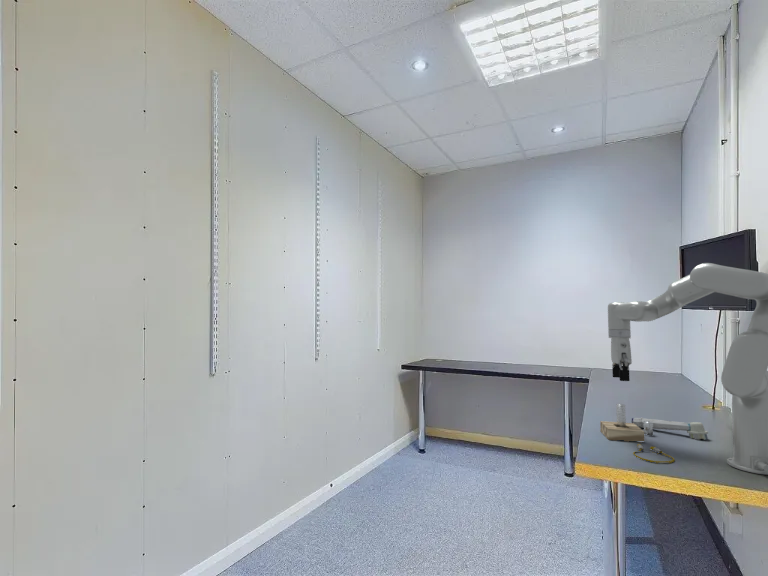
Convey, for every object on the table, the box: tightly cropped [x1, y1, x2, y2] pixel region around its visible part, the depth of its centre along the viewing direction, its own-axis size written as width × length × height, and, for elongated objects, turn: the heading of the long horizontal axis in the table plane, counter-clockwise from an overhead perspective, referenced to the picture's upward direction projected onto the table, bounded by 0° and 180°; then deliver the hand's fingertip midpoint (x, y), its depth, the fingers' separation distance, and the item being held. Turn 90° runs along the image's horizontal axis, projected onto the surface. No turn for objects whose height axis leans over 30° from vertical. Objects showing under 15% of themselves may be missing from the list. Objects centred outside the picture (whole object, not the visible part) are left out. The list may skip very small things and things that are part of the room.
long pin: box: [615, 403, 627, 428], centre depth 161 cm, size 3×3×12 cm
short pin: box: [643, 421, 654, 436], centre depth 164 cm, size 3×3×5 cm
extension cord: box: [632, 443, 676, 464], centre depth 139 cm, size 12×16×2 cm
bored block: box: [599, 420, 645, 442], centre depth 161 cm, size 12×12×4 cm
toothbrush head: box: [630, 417, 709, 441], centre depth 167 cm, size 5×7×25 cm
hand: (620, 379), depth 162 cm, fingers open, 9 cm apart
